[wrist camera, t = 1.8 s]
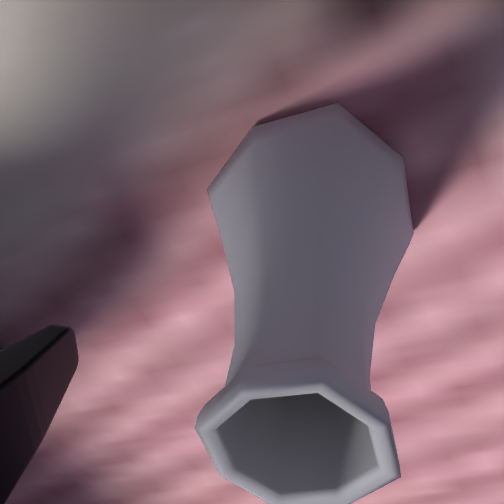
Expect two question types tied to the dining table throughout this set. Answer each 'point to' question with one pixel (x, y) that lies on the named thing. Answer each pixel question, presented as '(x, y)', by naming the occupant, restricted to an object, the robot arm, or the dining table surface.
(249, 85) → the dining table surface
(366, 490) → the flask
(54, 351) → the robot arm
